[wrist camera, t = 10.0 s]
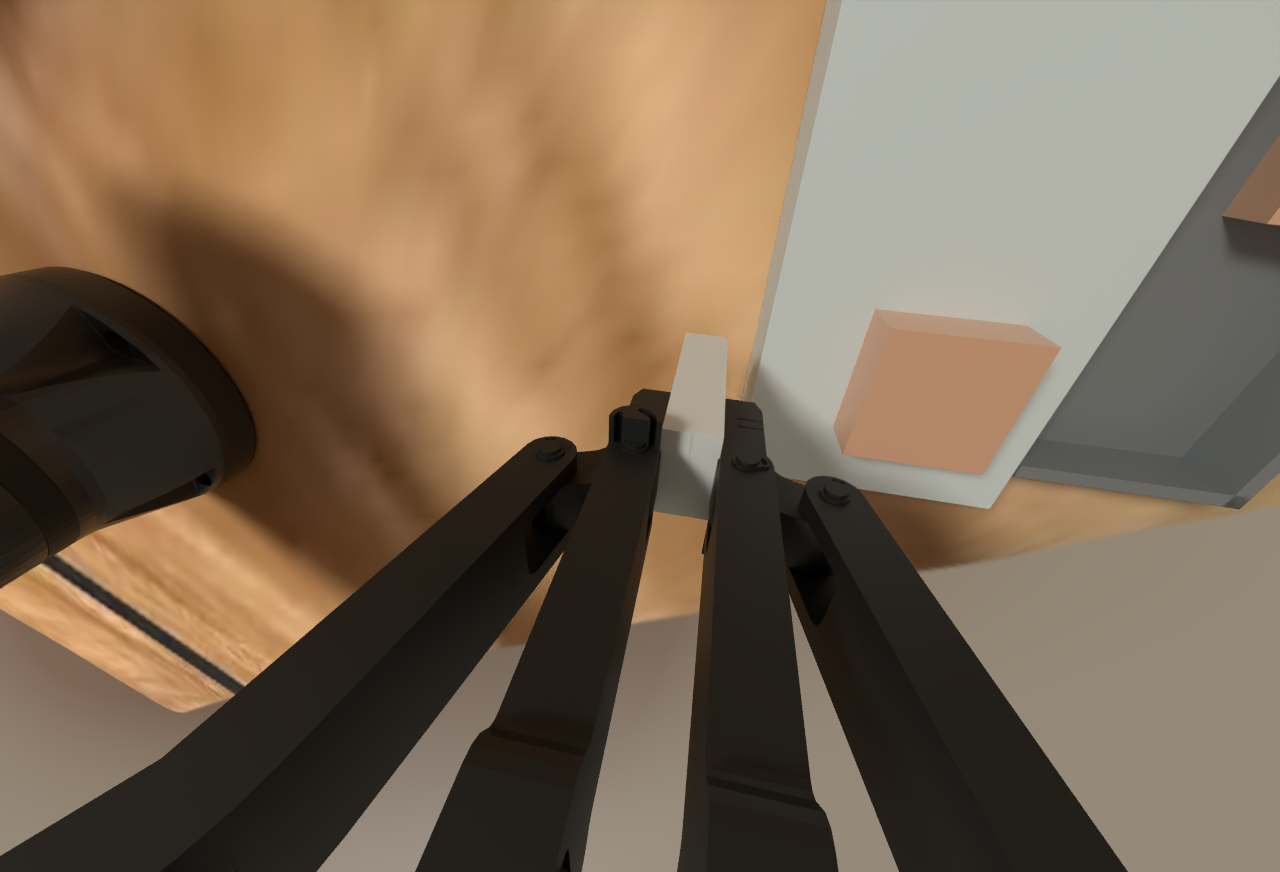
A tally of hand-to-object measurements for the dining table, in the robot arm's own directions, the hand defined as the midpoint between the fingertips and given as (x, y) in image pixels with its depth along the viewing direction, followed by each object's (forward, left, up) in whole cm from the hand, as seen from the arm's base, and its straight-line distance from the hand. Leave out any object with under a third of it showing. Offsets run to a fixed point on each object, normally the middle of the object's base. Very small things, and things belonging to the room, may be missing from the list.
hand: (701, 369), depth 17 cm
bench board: (+8, +4, -5) cm, 10 cm away
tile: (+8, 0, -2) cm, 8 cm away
